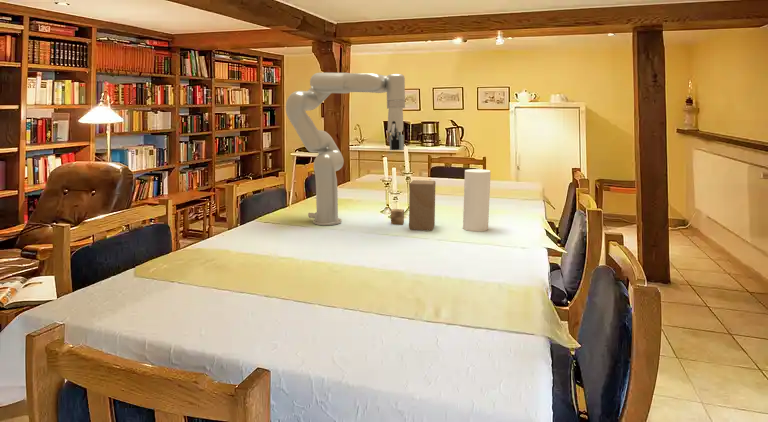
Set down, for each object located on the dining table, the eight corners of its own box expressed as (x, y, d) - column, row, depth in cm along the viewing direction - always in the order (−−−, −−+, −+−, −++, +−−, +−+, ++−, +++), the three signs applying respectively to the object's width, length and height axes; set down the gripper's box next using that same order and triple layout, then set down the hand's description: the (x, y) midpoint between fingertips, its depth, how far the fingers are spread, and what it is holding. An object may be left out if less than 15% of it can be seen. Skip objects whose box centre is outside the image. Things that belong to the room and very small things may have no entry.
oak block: (390, 224, 229) (390, 211, 228) (393, 221, 234) (393, 209, 233) (401, 224, 228) (402, 211, 227) (403, 222, 233) (404, 209, 232)
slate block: (389, 150, 215) (389, 135, 214) (392, 149, 220) (392, 135, 219) (401, 150, 214) (401, 135, 213) (403, 149, 219) (403, 134, 217)
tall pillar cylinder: (492, 228, 222) (495, 170, 217) (479, 232, 214) (481, 172, 209) (472, 224, 229) (474, 168, 224) (458, 228, 221) (459, 170, 216)
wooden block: (432, 230, 217) (433, 183, 213) (408, 229, 219) (409, 183, 215) (434, 225, 227) (435, 180, 223) (412, 224, 229) (412, 179, 225)
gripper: (391, 105, 222) (392, 147, 226) (382, 105, 206) (383, 150, 209) (408, 104, 220) (409, 147, 224) (400, 104, 204) (401, 150, 208)
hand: (396, 148), depth 217 cm, fingers closed on slate block, 5 cm apart
